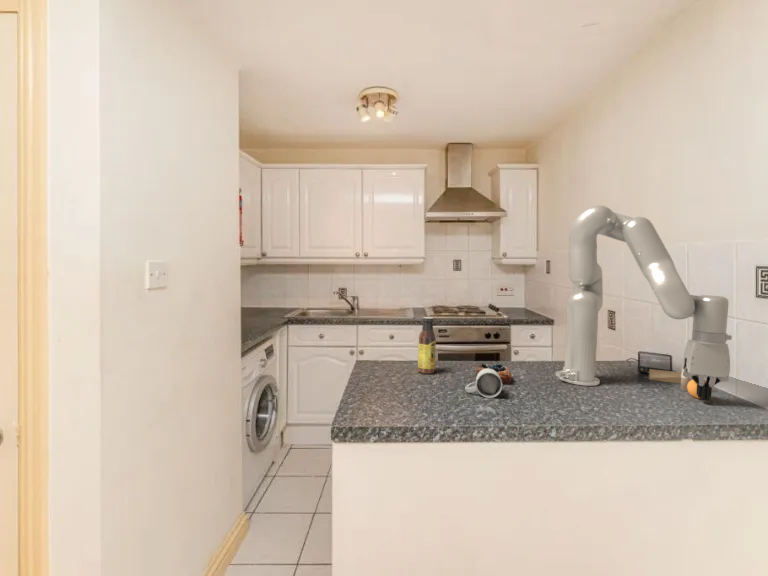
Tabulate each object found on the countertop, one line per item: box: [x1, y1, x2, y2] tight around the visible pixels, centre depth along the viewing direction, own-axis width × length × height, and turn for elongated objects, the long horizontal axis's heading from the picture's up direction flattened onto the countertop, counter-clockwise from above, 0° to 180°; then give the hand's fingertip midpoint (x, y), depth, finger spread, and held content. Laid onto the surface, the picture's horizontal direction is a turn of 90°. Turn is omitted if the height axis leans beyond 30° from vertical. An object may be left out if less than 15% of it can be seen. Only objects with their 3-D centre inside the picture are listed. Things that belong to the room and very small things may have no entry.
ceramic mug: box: [464, 368, 503, 399], centre depth 116 cm, size 11×8×8 cm
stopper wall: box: [648, 368, 693, 384], centre depth 134 cm, size 2×14×4 cm, turn 71°
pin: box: [679, 367, 690, 393], centre depth 124 cm, size 2×2×8 cm
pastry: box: [475, 362, 513, 385], centre depth 131 cm, size 11×12×6 cm
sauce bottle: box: [417, 316, 437, 375], centre depth 137 cm, size 7×6×20 cm
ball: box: [687, 379, 713, 400], centre depth 117 cm, size 6×6×6 cm
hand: (703, 398), depth 112 cm, fingers closed
